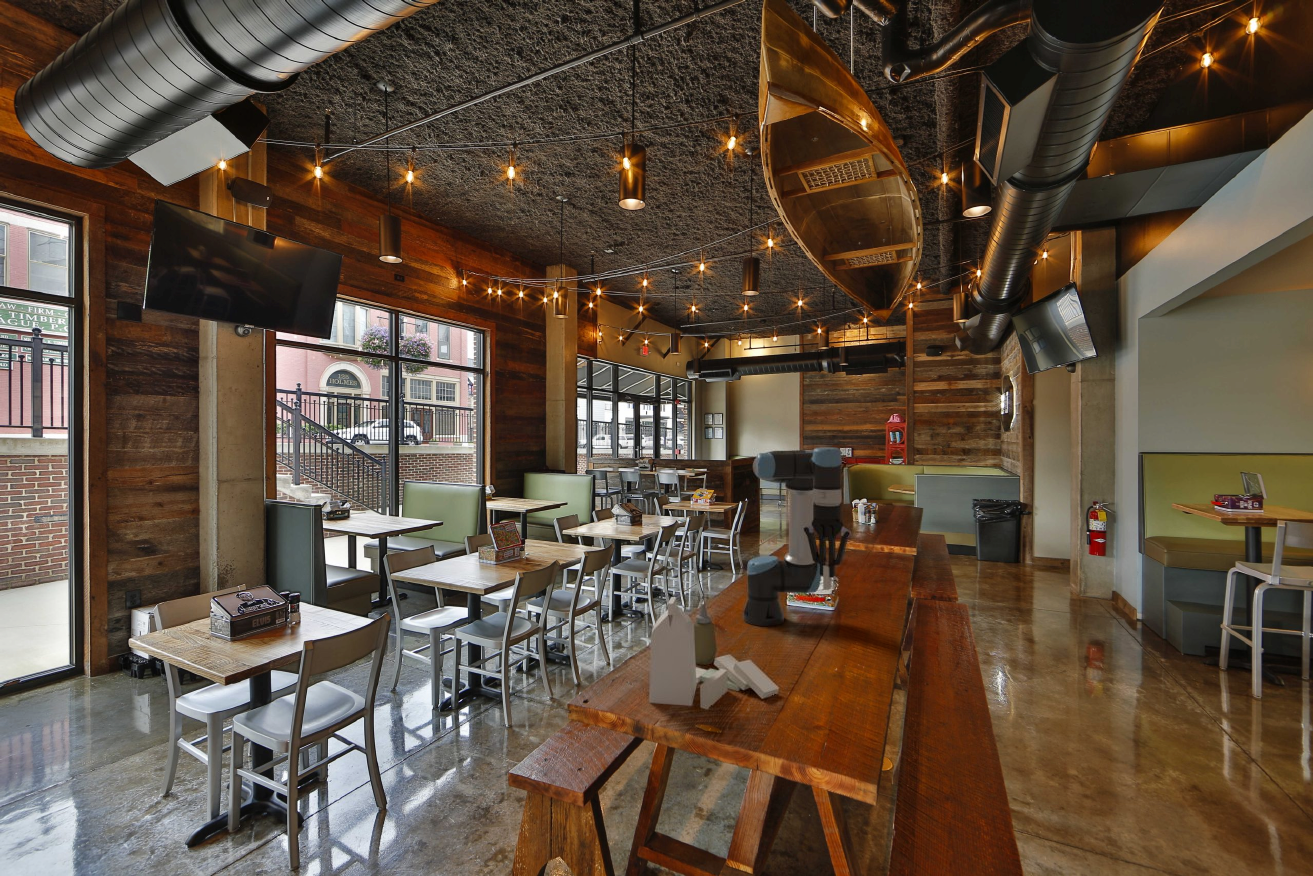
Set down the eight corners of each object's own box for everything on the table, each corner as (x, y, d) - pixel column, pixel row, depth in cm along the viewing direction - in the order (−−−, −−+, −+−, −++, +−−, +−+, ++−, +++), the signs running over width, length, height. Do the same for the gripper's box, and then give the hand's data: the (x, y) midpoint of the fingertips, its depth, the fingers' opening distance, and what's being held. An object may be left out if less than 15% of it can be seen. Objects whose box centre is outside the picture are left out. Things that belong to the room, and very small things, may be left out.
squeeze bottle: (696, 668, 174) (695, 609, 174) (687, 658, 182) (686, 601, 181) (720, 665, 176) (720, 607, 176) (711, 655, 184) (710, 599, 183)
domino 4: (743, 690, 158) (713, 664, 166) (757, 685, 161) (727, 660, 170) (745, 684, 157) (715, 658, 166) (759, 679, 161) (729, 654, 170)
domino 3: (720, 689, 160) (700, 708, 150) (720, 668, 160) (700, 685, 150) (727, 691, 159) (707, 710, 149) (727, 670, 159) (707, 687, 149)
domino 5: (762, 698, 153) (732, 668, 162) (776, 694, 157) (747, 665, 166) (764, 692, 153) (735, 663, 162) (779, 688, 156) (749, 659, 165)
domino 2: (738, 693, 159) (700, 682, 166) (747, 684, 164) (710, 675, 171) (738, 685, 159) (700, 675, 166) (747, 677, 164) (710, 668, 171)
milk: (656, 682, 165) (655, 593, 164) (696, 685, 163) (695, 594, 162) (649, 702, 153) (647, 606, 152) (692, 705, 151) (690, 608, 151)
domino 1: (697, 684, 164) (662, 675, 171) (707, 677, 169) (673, 667, 176) (697, 678, 164) (662, 668, 171) (707, 670, 169) (673, 661, 176)
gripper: (799, 503, 158) (799, 588, 159) (847, 507, 151) (847, 595, 152) (808, 500, 164) (809, 581, 165) (855, 503, 157) (855, 588, 158)
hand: (827, 588), depth 159 cm, fingers closed
